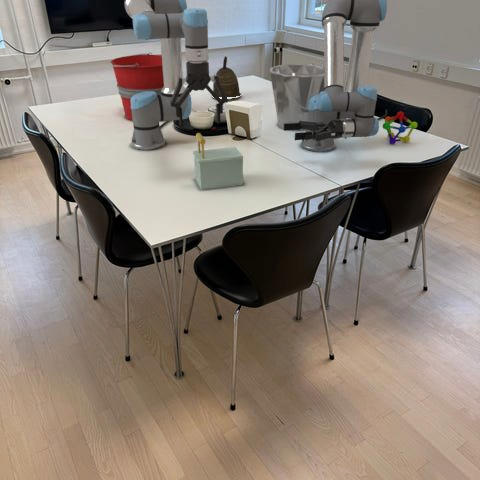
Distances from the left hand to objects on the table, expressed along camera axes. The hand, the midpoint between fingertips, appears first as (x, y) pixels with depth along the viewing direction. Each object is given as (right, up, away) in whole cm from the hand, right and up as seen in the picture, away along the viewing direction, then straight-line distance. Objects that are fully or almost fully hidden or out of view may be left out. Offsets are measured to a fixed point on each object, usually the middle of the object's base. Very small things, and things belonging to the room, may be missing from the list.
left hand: (200, 124), depth 158 cm
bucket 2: (+44, +19, +75) cm, 89 cm away
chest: (+6, -19, +14) cm, 24 cm away
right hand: (+34, +1, +14) cm, 36 cm away
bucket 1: (-37, +28, +89) cm, 101 cm away
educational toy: (+89, +5, +53) cm, 103 cm away
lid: (+6, -10, +8) cm, 14 cm away
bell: (+6, +49, +123) cm, 133 cm away
